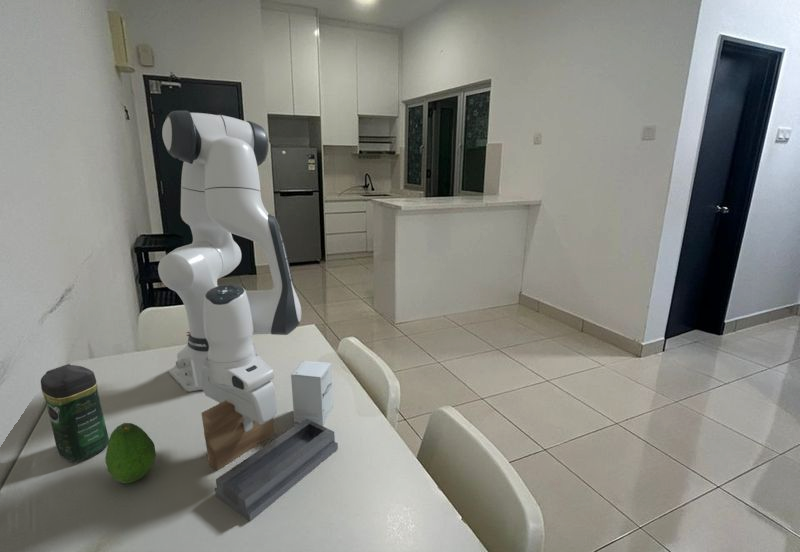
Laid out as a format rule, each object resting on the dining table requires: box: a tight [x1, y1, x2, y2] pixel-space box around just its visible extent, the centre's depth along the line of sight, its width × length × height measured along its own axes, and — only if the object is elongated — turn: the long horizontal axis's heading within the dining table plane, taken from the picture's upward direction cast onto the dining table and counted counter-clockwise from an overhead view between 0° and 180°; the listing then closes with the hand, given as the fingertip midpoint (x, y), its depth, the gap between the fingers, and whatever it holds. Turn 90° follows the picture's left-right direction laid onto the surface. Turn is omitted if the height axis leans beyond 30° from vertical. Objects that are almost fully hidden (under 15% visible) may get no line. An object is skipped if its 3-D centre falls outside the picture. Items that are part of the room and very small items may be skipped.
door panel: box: [201, 400, 275, 471], centre depth 87 cm, size 3×14×12 cm, turn 146°
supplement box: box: [290, 360, 334, 426], centre depth 98 cm, size 7×7×13 cm
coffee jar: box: [40, 363, 110, 462], centre depth 86 cm, size 10×8×19 cm
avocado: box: [104, 422, 157, 484], centre depth 78 cm, size 8×8×12 cm
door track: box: [214, 419, 339, 522], centre depth 81 cm, size 10×22×4 cm, turn 146°
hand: (240, 425), depth 87 cm, fingers closed on door panel, 3 cm apart
